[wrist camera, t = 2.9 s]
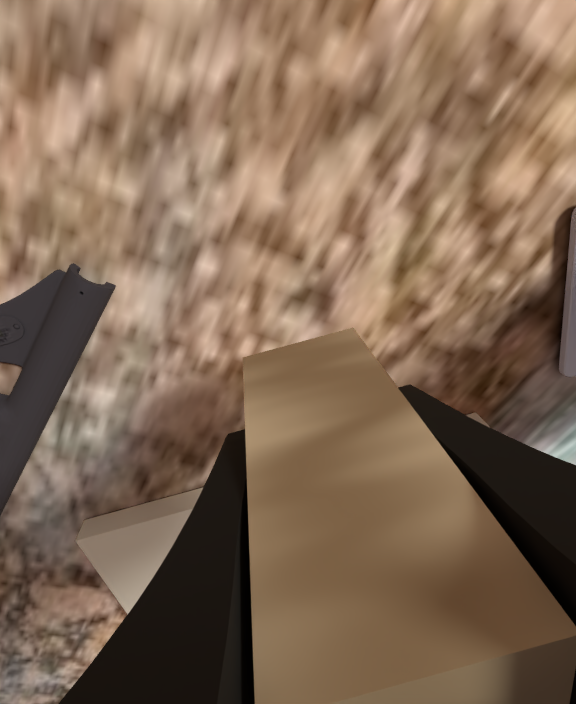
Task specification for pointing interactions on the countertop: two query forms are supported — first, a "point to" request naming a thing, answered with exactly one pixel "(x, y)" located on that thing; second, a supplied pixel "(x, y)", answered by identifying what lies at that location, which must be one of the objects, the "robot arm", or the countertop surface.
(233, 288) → the countertop surface
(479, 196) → the countertop surface
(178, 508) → the switch panel
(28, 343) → the bracket
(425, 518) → the tall stone pillar
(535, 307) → the countertop surface
